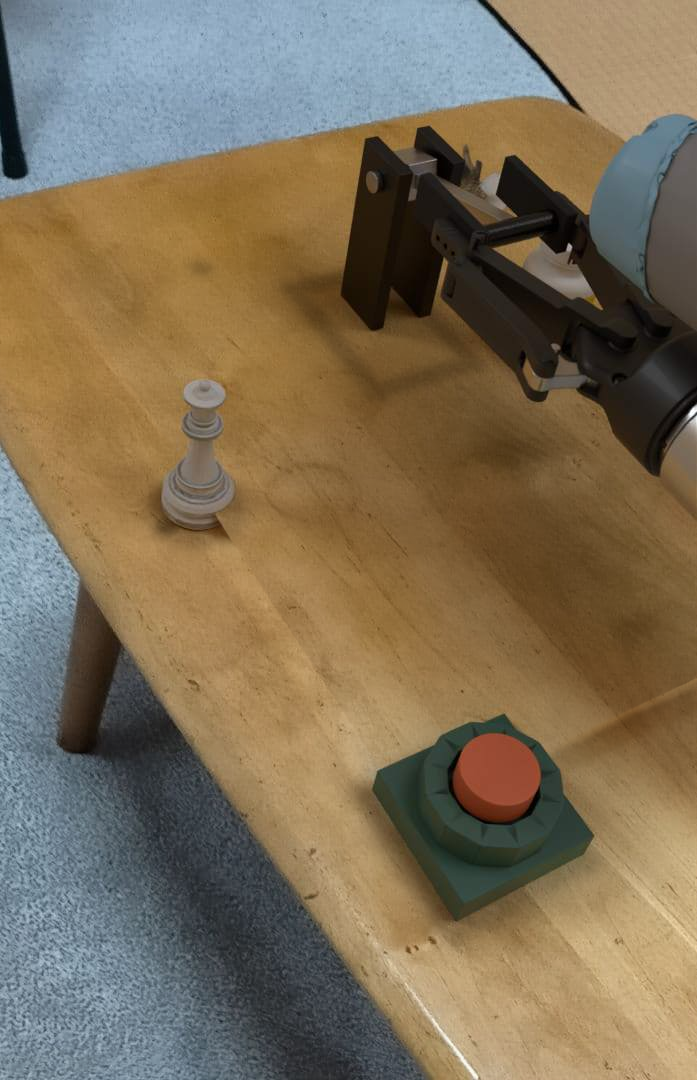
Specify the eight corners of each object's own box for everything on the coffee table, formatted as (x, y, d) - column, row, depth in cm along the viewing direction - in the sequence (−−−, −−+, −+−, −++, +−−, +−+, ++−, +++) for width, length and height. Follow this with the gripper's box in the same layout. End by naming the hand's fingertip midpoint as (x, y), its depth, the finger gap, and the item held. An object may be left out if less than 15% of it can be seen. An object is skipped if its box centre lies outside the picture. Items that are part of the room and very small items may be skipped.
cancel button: (502, 739, 63) (510, 720, 61) (548, 803, 61) (557, 785, 59) (436, 770, 61) (443, 751, 60) (482, 836, 59) (489, 818, 58)
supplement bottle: (588, 350, 90) (629, 238, 83) (548, 384, 87) (586, 271, 80) (527, 315, 92) (562, 201, 85) (486, 346, 89) (518, 232, 81)
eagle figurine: (433, 169, 101) (357, 183, 95) (493, 123, 96) (415, 135, 90) (472, 254, 101) (398, 274, 95) (534, 213, 96) (459, 231, 90)
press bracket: (473, 357, 88) (519, 189, 78) (378, 385, 84) (412, 214, 74) (386, 259, 94) (417, 92, 84) (294, 282, 91) (315, 111, 80)
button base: (496, 732, 67) (513, 691, 64) (584, 854, 63) (607, 816, 60) (370, 790, 64) (382, 749, 61) (455, 922, 60) (472, 885, 57)
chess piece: (156, 480, 76) (159, 356, 69) (227, 475, 77) (238, 352, 70) (166, 534, 73) (170, 410, 66) (239, 528, 74) (251, 406, 67)
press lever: (556, 244, 74) (560, 205, 73) (482, 263, 72) (484, 223, 70) (432, 178, 83) (434, 142, 82) (363, 193, 81) (363, 156, 79)
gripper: (550, 532, 62) (325, 265, 74) (808, 434, 70) (566, 207, 82) (592, 424, 57) (341, 155, 69) (867, 331, 65) (598, 104, 77)
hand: (464, 184), depth 76 cm, fingers closed on press lever, 5 cm apart
